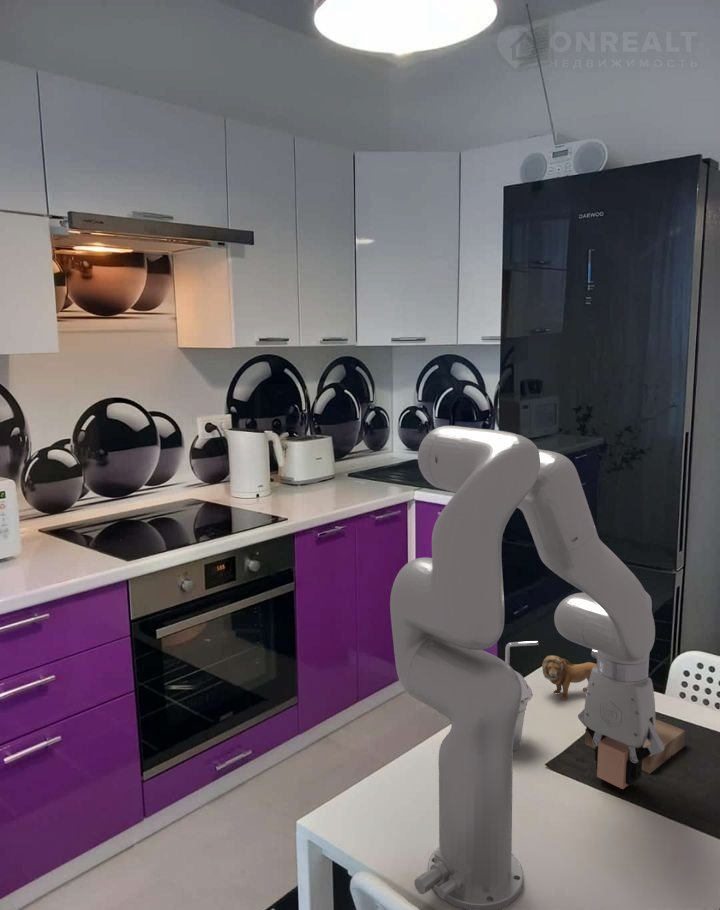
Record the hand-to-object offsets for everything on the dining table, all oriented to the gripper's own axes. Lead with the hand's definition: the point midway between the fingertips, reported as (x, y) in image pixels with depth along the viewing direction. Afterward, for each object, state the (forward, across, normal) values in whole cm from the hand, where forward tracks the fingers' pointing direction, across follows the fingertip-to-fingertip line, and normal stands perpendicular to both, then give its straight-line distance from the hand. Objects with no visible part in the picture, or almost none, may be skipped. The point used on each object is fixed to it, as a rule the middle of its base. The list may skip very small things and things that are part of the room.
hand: (617, 773), depth 118 cm
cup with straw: (+2, -19, -3) cm, 19 cm away
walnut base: (+2, -4, +13) cm, 13 cm away
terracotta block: (+1, 0, 0) cm, 1 cm away
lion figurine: (+2, -21, +21) cm, 30 cm away
